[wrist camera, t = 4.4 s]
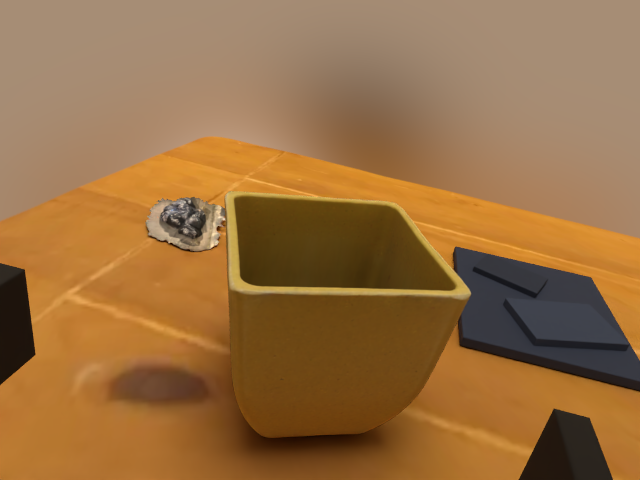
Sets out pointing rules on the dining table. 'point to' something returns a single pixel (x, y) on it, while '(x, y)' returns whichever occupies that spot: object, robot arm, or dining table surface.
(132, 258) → the dining table surface
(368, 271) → the flower pot
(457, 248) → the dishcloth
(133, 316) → the dining table surface
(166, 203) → the grey mineral rock
